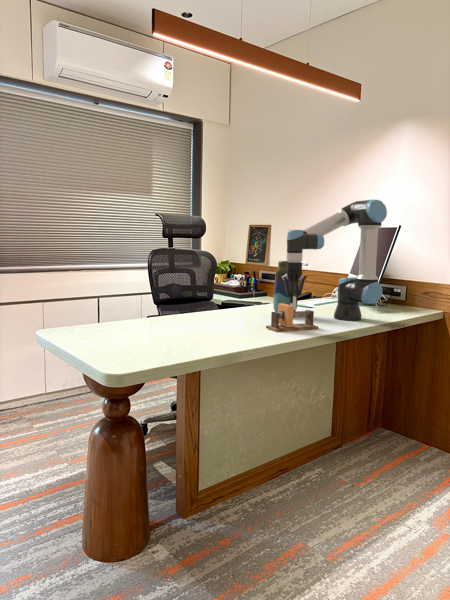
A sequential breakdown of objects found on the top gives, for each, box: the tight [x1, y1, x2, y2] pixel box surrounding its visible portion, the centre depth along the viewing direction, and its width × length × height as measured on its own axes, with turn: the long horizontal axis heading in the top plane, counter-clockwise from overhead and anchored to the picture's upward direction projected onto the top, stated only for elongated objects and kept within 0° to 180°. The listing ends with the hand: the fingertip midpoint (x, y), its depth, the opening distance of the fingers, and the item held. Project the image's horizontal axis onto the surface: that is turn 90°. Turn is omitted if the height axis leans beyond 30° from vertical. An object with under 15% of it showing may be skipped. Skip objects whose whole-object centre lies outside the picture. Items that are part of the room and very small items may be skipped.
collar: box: [278, 303, 294, 327], centre depth 226 cm, size 3×10×10 cm, turn 22°
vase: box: [272, 260, 298, 312], centre depth 266 cm, size 14×14×31 cm
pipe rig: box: [265, 309, 320, 333], centre depth 228 cm, size 24×10×9 cm, turn 112°
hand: (293, 309), depth 228 cm, fingers closed
